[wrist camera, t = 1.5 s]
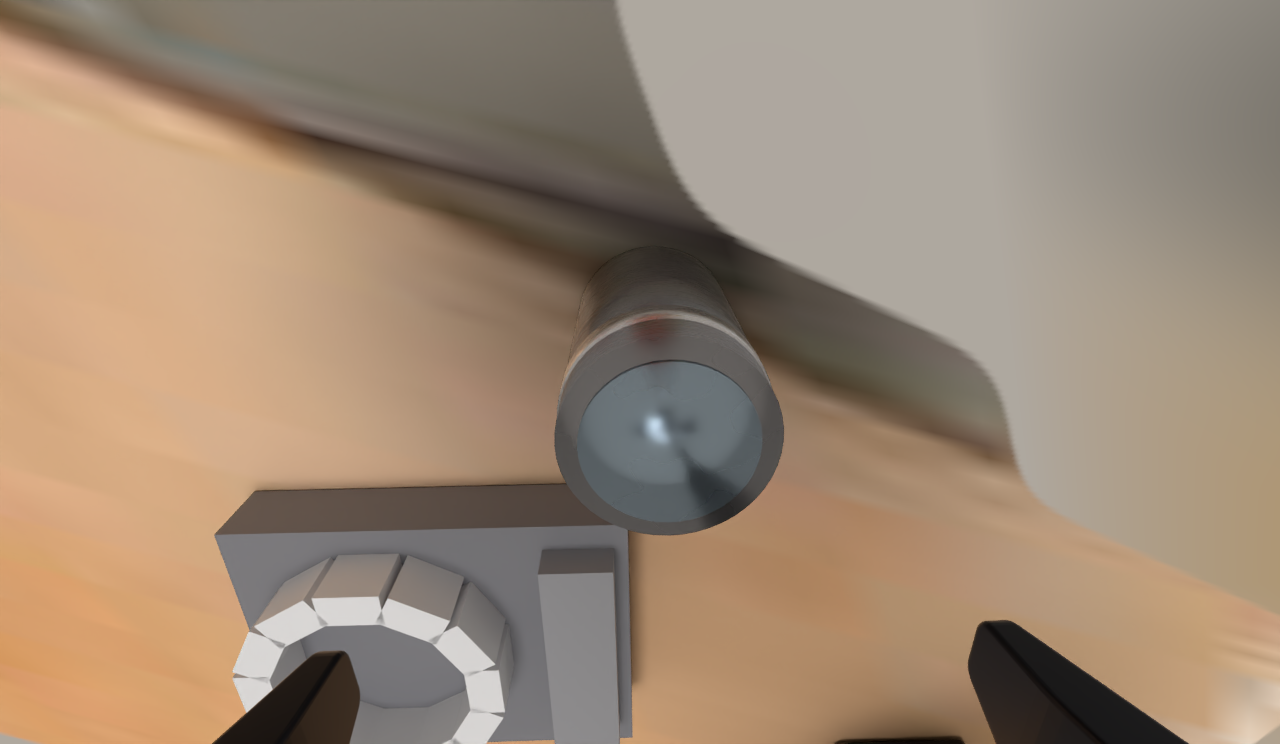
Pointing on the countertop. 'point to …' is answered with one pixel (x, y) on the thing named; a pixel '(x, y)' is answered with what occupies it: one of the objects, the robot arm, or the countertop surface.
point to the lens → (664, 399)
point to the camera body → (441, 608)
